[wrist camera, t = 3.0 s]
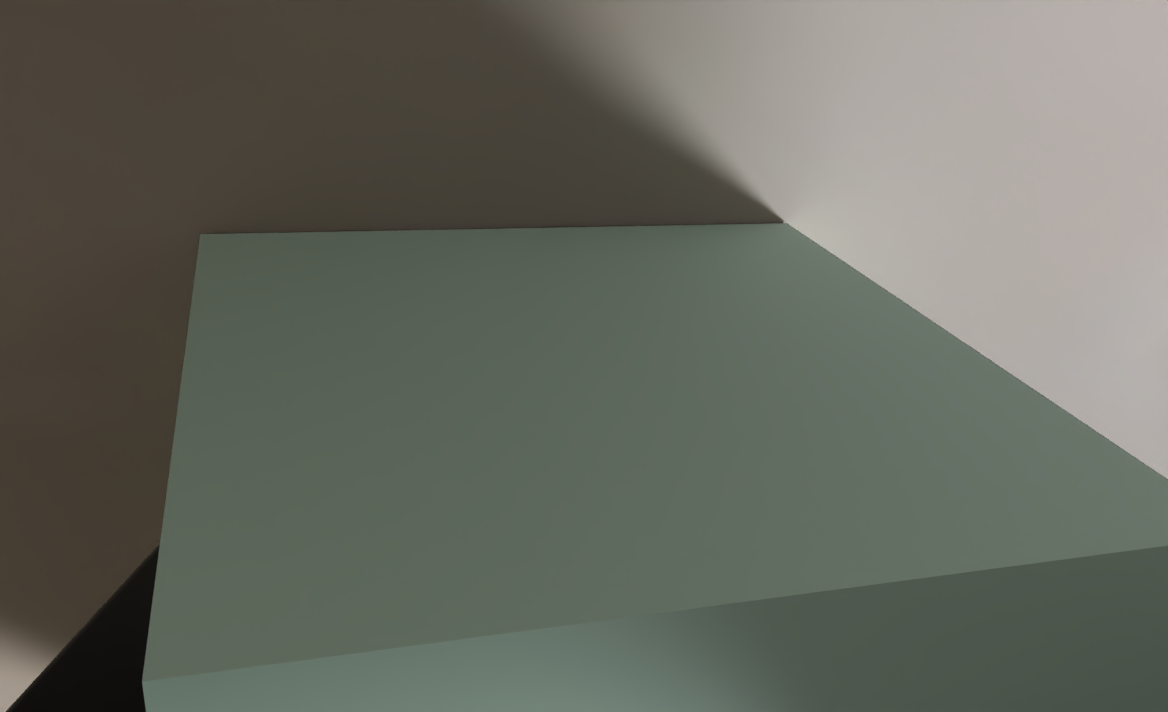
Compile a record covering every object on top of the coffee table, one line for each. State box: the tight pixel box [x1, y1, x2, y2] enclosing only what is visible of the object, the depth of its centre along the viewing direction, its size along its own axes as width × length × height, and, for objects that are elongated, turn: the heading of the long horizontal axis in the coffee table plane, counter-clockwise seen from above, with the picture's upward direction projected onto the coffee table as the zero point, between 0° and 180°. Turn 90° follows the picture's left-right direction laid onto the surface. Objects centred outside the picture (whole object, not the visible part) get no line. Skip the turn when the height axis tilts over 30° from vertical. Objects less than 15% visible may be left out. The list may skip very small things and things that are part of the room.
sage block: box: [142, 223, 1168, 712], centre depth 8 cm, size 5×5×5 cm
